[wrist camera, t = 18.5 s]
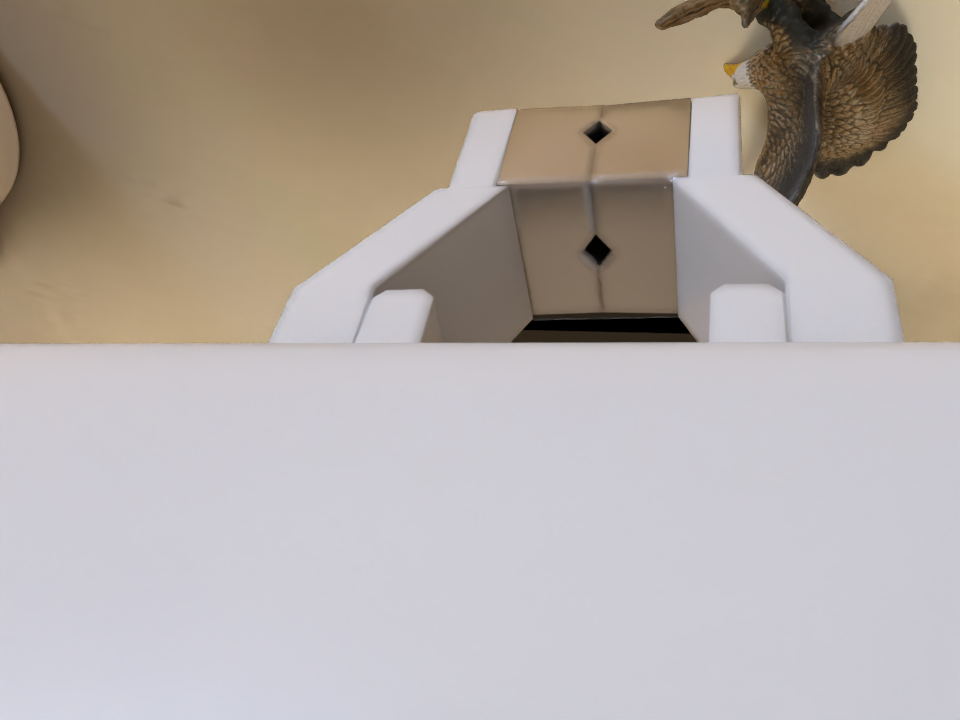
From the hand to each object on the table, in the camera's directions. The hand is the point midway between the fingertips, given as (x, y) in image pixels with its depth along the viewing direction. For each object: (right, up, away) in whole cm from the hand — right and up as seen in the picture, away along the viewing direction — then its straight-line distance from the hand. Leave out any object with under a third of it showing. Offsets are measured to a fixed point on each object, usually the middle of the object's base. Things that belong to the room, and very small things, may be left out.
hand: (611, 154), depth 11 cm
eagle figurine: (+9, +7, +19) cm, 22 cm away
